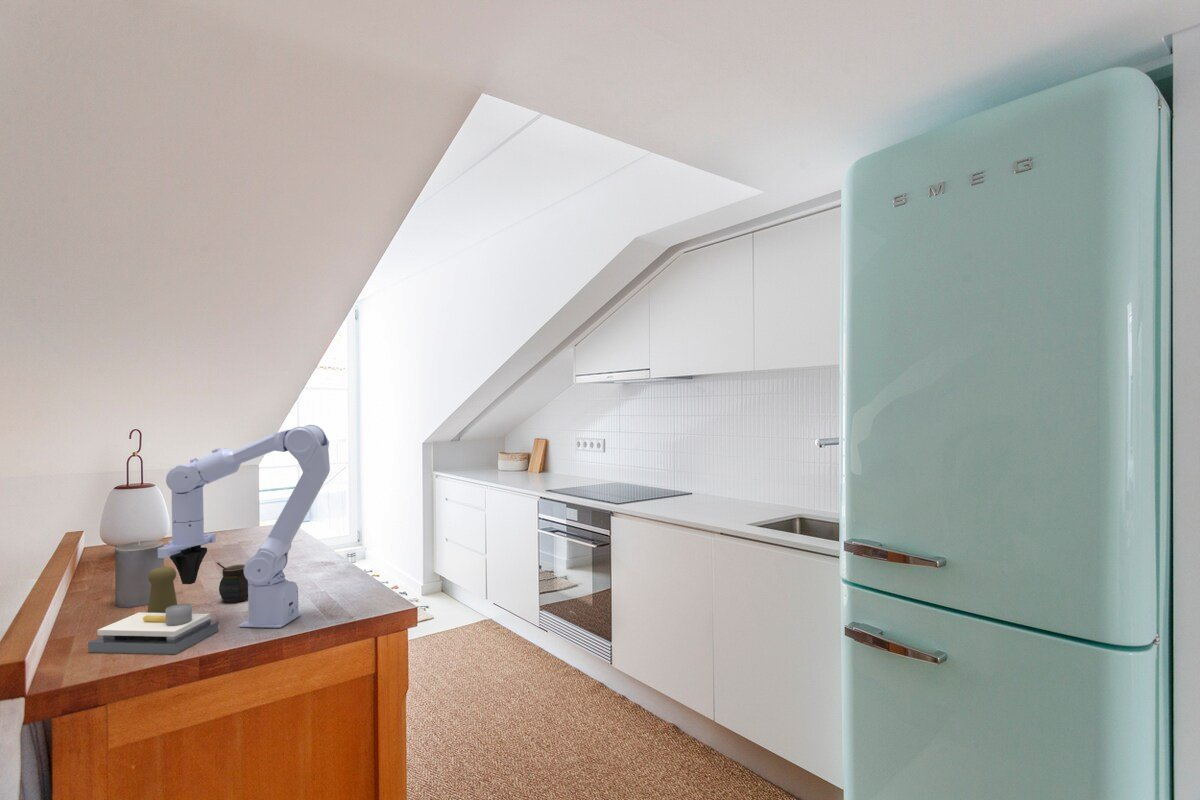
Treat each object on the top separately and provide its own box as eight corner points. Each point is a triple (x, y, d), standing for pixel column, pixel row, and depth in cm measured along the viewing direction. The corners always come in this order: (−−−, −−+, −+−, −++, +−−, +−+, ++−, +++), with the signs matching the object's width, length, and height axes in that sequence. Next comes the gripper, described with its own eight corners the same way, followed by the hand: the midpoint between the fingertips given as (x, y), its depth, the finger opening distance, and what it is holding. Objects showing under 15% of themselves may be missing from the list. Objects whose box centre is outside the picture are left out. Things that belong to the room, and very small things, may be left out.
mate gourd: (259, 598, 155) (258, 557, 154) (226, 607, 148) (225, 565, 148) (244, 593, 159) (243, 553, 159) (212, 601, 152) (211, 560, 152)
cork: (173, 610, 146) (173, 562, 146) (182, 615, 143) (182, 567, 143) (142, 617, 142) (141, 568, 142) (151, 623, 138) (150, 573, 138)
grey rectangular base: (218, 631, 133) (218, 616, 133) (175, 654, 121) (175, 638, 121) (138, 629, 134) (138, 615, 134) (88, 652, 122) (88, 636, 122)
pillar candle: (118, 599, 155) (116, 538, 155) (166, 592, 160) (164, 533, 160) (112, 610, 147) (111, 546, 146) (163, 603, 152) (162, 541, 152)
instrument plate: (210, 618, 132) (210, 599, 132) (174, 636, 122) (174, 616, 122) (138, 617, 133) (138, 598, 133) (97, 635, 123) (97, 614, 123)
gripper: (194, 513, 143) (195, 573, 143) (143, 527, 128) (144, 593, 128) (224, 513, 142) (225, 573, 142) (175, 527, 128) (176, 594, 128)
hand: (188, 583), depth 135 cm, fingers closed
